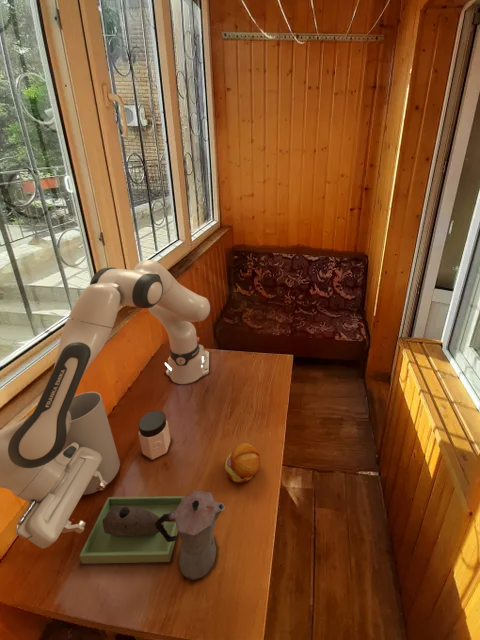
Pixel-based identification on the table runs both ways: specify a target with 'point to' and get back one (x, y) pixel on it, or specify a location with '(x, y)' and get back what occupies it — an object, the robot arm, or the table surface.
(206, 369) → the robot arm
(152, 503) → the tray
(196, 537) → the moka pot
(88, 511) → the table surface
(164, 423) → the jar
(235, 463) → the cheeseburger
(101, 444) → the cylinder vase
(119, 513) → the perforated stone tool
